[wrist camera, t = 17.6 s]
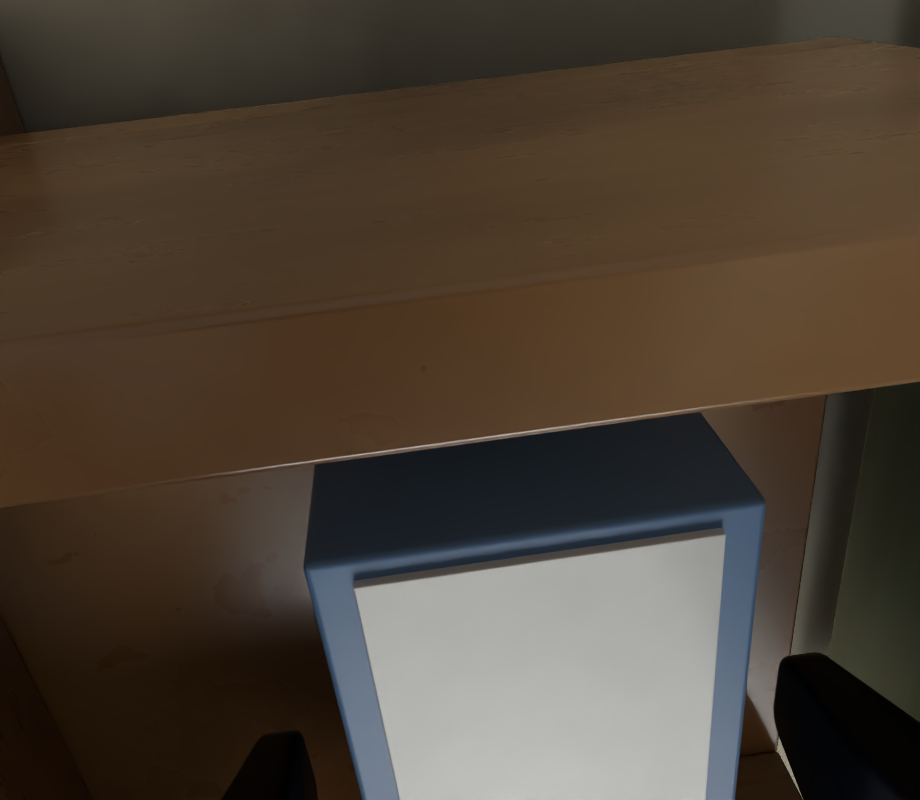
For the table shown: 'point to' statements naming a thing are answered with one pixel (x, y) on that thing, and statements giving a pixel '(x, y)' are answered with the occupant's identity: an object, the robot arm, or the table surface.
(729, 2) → the table surface
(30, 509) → the drawer
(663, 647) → the foil box
